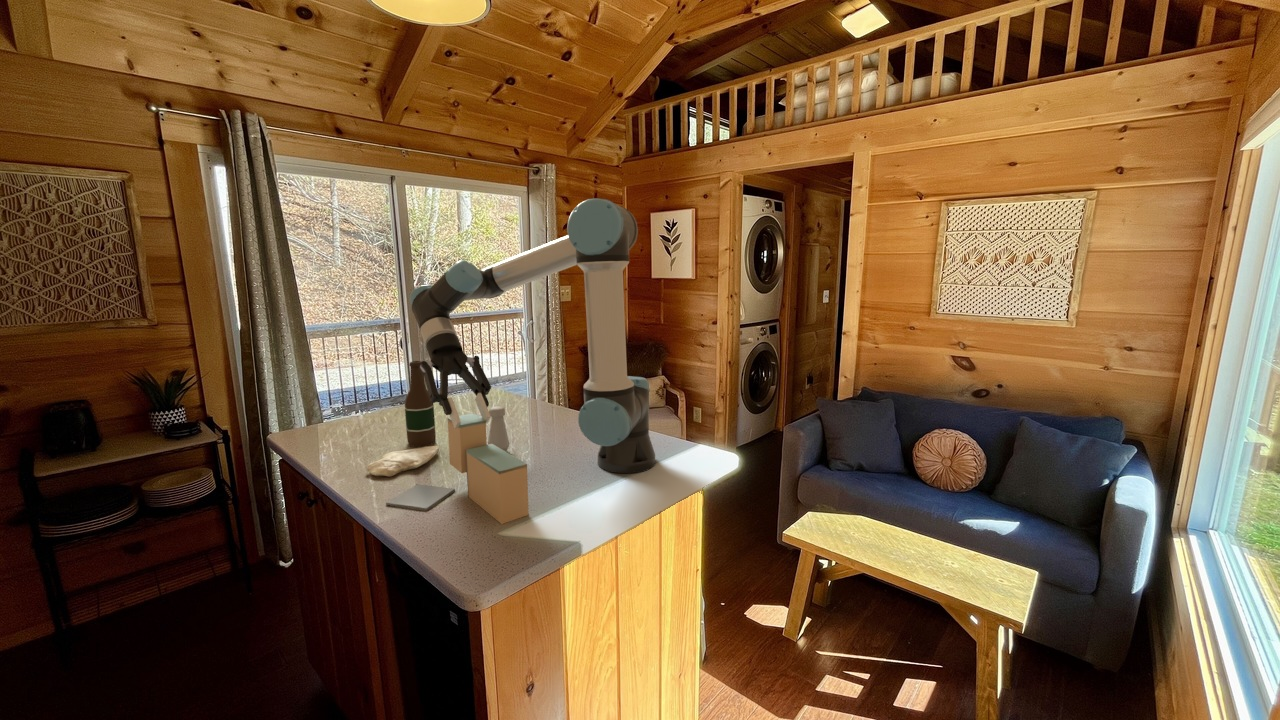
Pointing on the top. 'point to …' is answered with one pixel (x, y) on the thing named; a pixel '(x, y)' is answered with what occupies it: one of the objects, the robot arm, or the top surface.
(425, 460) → the cream lumpy flat piece
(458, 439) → the stub
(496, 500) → the tan wooden box
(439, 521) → the top surface
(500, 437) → the salt shaker
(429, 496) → the coaster
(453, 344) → the robot arm
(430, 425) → the beer bottle
